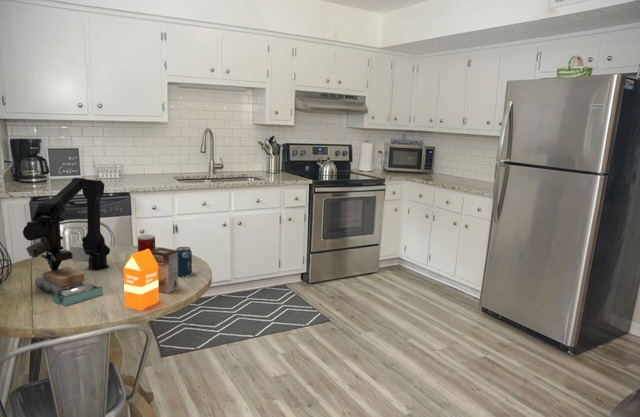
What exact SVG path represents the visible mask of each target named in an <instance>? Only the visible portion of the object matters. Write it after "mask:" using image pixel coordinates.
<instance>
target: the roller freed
mask: <svg viewBox="0 0 640 417" xmlns="http://www.w3.org/2000/svg"><path fill="white" fill-rule="evenodd" d="M92 285H93V284H92V283H86V284H83V286H79V287H75V288H72V289H68V290H64V291H61V295H60V296H61V297H65V296H69V295H72V294H76V293H79V292H83V291H86V290H90V289H93V287H92Z"/></svg>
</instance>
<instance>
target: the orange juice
mask: <svg viewBox="0 0 640 417" xmlns="http://www.w3.org/2000/svg"><path fill="white" fill-rule="evenodd" d="M123 282H124V283H123V285H124V286H123V288H124V289H123V290H124V306H125V307H126V308H129V309H133V310H138V311H143V310H145V308H146V309H148V308H150V307H152V306H154V305H155V304H158V303H159V302H160V300H159V299H160V298H159V297H160V295H159V293H160V292H159V291H158V287H159V285H158V264H157V262H156V260H155V259H154V257H153V255H152V253H151V251H150V250H149V249H146V250H143V251H140V252H138V251H137V252H134V253H132V254H131V255H130V257H129V259H128V260H127V262H126V264H125V266H124V267H123ZM158 301H159V302H158ZM149 306H150V307H149ZM147 307H148V308H147Z"/></svg>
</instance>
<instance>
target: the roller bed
mask: <svg viewBox="0 0 640 417" xmlns="http://www.w3.org/2000/svg"><path fill="white" fill-rule="evenodd" d="M83 285H84V281H82V282H78V283H75V284H71V285H67V286H64V287H58V286H56V285H54V284H51V283H49V282H47V281H44V278H43V276H40V277H36V278H35V286H36V288H37V290H38V289H39V290H40V289H43V290H44V292H45V293H51V301H52V302H54V303H56V304H58V305H62V306H64V307H67V306H70V305H74V304H77V303H80V302H84V301H86V300H90V299H93V298H97V297H100V296H103V295H104V288H103V286H96V285H94V284H91V285H92V287H93V289H90V290H86V291H83V292H79V293H76V294H72V295H69V296H65V297H61V291H64V290H68V289H72V288H75V287H79V286H83Z"/></svg>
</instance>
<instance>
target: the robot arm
mask: <svg viewBox="0 0 640 417" xmlns="http://www.w3.org/2000/svg"><path fill="white" fill-rule="evenodd" d="M80 191H82V194H83V197H84V198H85V199H86V212H87V214H86V216H87V219H86V220H87V222H86V223H87V233H86V234H85V236H83V237H82V238H81V241H83V244H82V246H83V249H84V251H85V253H86V255H89V259H88V261H87V262H88V266H87V268H88V269H91V270H94V271H99V270H103V269H105V268H106V269H107V268H110V266H109V265H108V262H107V261H108V259H107V256H109V255H110V252H111V248H110V247H109V246H107V245H106V241H105V237H104V235H103V234H102V233H101V199H102V198H103V196H104V194H105V183H104V182H103V181H102V180H101V179H100V180H99V179H87V178H85V177H74V178H72V179H71V181H70V182H69V183H68V184H67V185H66V186H65V187H63V188H62V189H61V190H60V191H58V192H57V194H55V195H54V196H53V197H50V198H47V199H45V200H43V201H42V202H39V204H38V206H37V208H36V211H35V213H34V215H33V218H32V219H31V220H32V221H27V222H26V225H25V226H24V227H23V230H22V235H23V237H24V238H25V240H27V241H30V242H32V241H35V240H39V242H35V243H33V244H31V245H30V246H27V247H26V248H25V249H26V252H27V254H28V256H29V257H32V258H34V259H35V258H37V257H39V256H40V257H41V258H43V259H45V260H46V262H47V264H48V266H49V269H50V271H53V270H57V269H59V267H60V265H61V263H62V262H63V261H67V260H71V259H72V258H73V254H72V253H71V251H69V250H68V249H67V250H66V249H64V246H62V240H64V238H63V236H62V235H61V222H64V221H65V220H64V218H62V217H61V215H62V214H63V213H64V212H65V210H66V206H67V204H68V203H69V202H70V201H71V200H72V199H74V197H75V196H76V195H78V194H79V192H80Z"/></svg>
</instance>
